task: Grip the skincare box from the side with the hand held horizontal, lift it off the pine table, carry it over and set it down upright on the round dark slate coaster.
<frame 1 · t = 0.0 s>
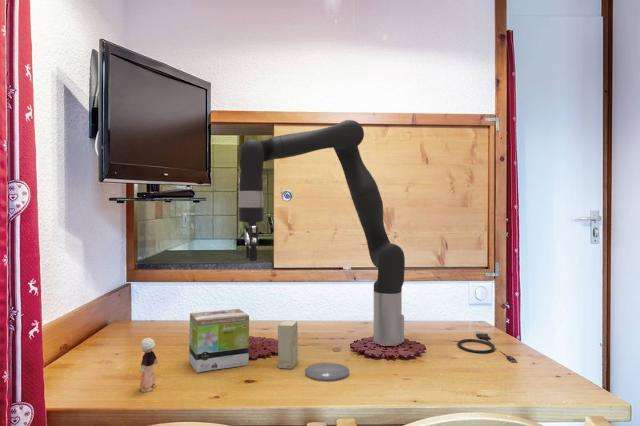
hand: (251, 259, 140), 29 cm above the table, tool pointing down, fingers open, 8 cm apart
skincare box: (288, 365, 132), on the table
tea box: (219, 365, 132), on the table
cable: (479, 349, 148), on the table
grandmother figurine: (147, 390, 114), on the table
coaster: (327, 373, 125), on the table
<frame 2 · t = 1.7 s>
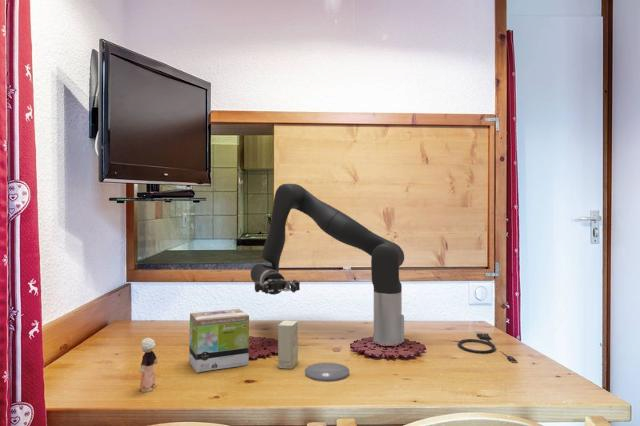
hand: (280, 289, 142), 20 cm above the table, tool horizontal, fingers open, 8 cm apart
nothing on the table moved.
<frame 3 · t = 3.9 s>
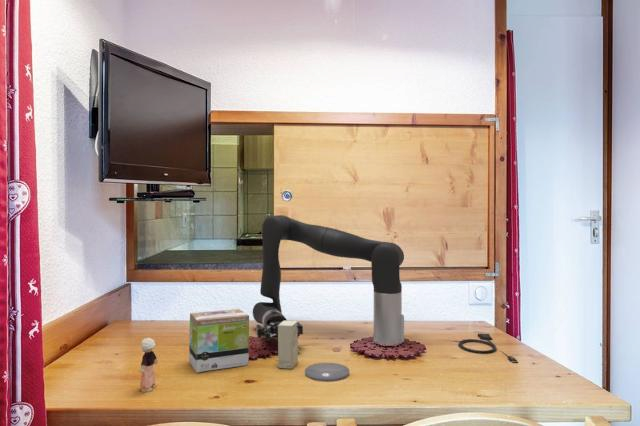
hand: (283, 335, 138), 7 cm above the table, tool horizontal, fingers open, 8 cm apart
nothing on the table moved.
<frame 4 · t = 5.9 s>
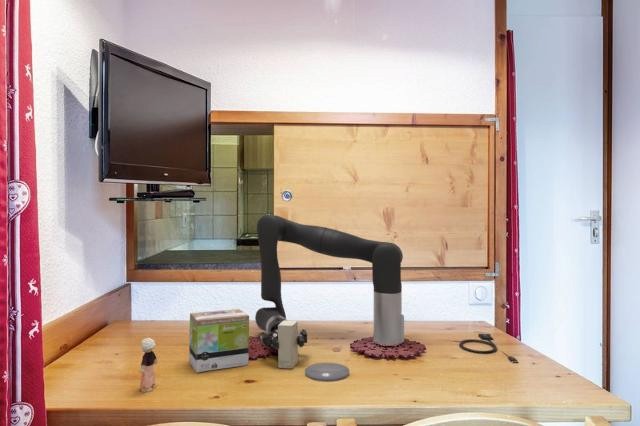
hand: (289, 344, 129), 7 cm above the table, tool horizontal, fingers closed on skincare box, 6 cm apart
skincare box: (288, 365, 132), on the table, touching gripper
everything else where it was.
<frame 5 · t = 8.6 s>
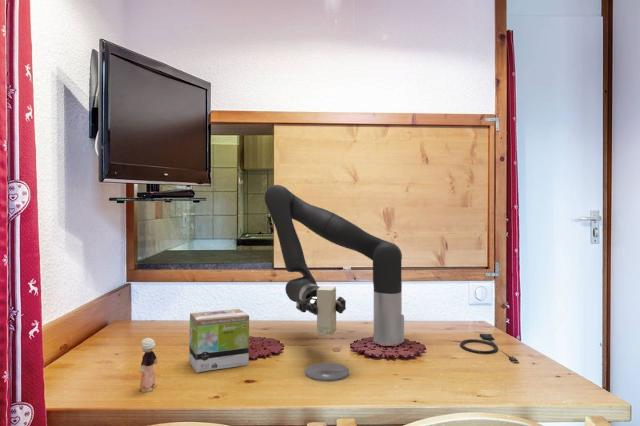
hand: (329, 310, 123), 18 cm above the table, tool horizontal, fingers closed on skincare box, 6 cm apart
skincare box: (326, 333, 125), point 11 cm above the table, touching gripper
everything else where it was.
when the fingers open (8 cm above the table, at t = 11.4 s): skincare box stays where it is, resting on coaster.
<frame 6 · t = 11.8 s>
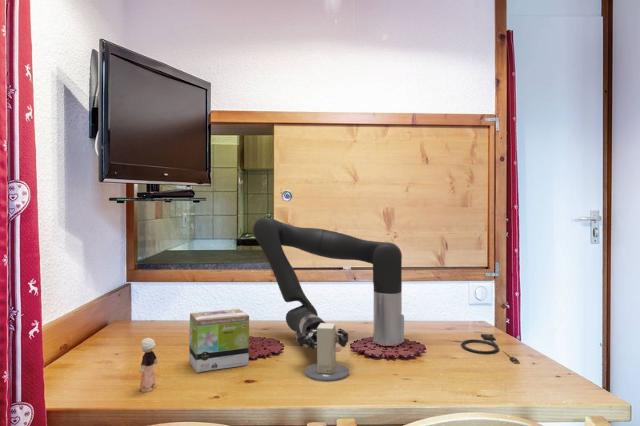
hand: (329, 344, 123), 8 cm above the table, tool horizontal, fingers open, 8 cm apart
skincare box: (326, 370, 125), point 1 cm above the table, touching coaster
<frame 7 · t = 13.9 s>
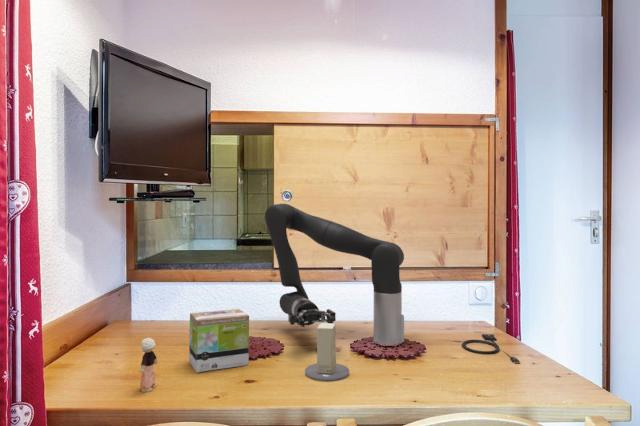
hand: (317, 322, 136), 11 cm above the table, tool horizontal, fingers open, 8 cm apart
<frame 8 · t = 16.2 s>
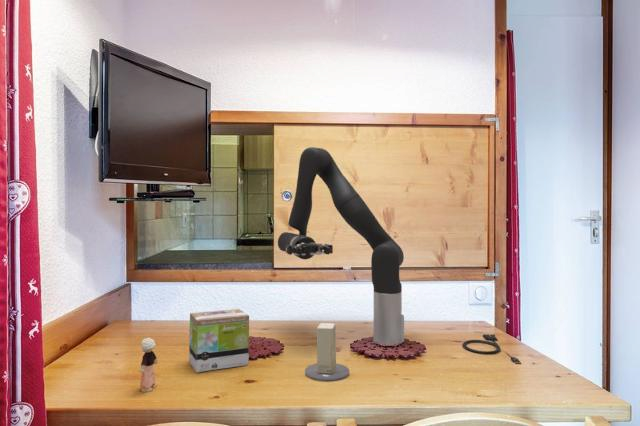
hand: (314, 251, 138), 32 cm above the table, tool horizontal, fingers open, 8 cm apart
at the end: skincare box 0.2 cm from the coaster (horizontally); skincare box tilted 0°; the gripper is holding nothing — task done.
